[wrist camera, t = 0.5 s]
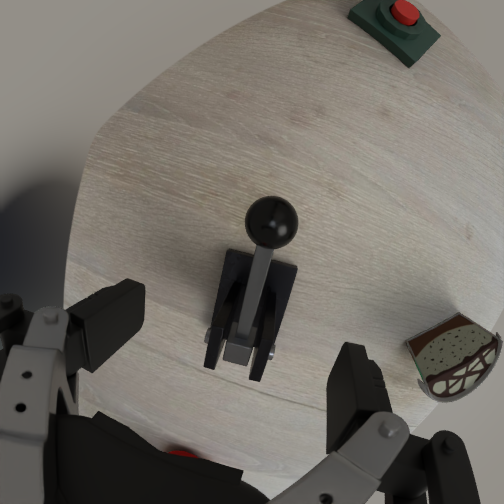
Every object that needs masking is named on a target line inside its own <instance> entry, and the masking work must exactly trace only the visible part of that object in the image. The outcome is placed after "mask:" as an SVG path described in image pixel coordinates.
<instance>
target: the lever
mask: <svg viewBox="0 0 504 504" xmlns="http://www.w3.org/2000/svg"><path fill="white" fill-rule="evenodd" d="M245 229H246V232H247V234H248V236H249V238H250V239H251V240H252V241H253V242H254V243H255V244H256V250H255V254H254V258H253V262H252V267H251V271H250V275H249V279H248V284H247V288H246V292H245V296H244V301H243V305H242V309H241V313H240V317H239V322H238V323H237V322H232V325H231V329H230V332H229V335H228V338H227V341H226V346H225V351H224V355H223V360H224V361H228V362H231V363H235V364H239V365H243V366H247V365H248V362H249V359H250V356H251V353H252V350H253V346H254V341H255V337H256V332H257V328H256V327H252V325H253V321H254V318H255V314H256V311H257V308H258V304H259V301H260V297H261V294H262V290H263V287H264V283H265V280H266V276H267V273H268V269H269V266H270V262H271V259H272V255H273V251H274V249H278V248H281V247H284V246H286V245H287V244H288V243H290V242H291V241H292V239H293V238H294V237H295V235H296V233H297V229H298V216H297V213H296V211H295V209H294V207H293V206H292V205H291V204H290V203H289V202H288V201H287V200H285V199H283V198H281V197H278V196H266V197H262V198H260V199H258V200H256V201H255V202H254V203H253V204H252V205H251V206H250V207H249V209H248V211H247V213H246V217H245Z"/></svg>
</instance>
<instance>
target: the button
mask: <svg viewBox="0 0 504 504" xmlns="http://www.w3.org/2000/svg"><path fill="white" fill-rule="evenodd" d="M391 14H392V16H393V17H394V18H395V19H396V20H397V21H398V22H400V23H402V24H404V25H413V24H414V23H415V22H416V20H417V19H418V18H419V11H418V10H417V8H416V7H415V6H414V5H412V4H411V3H409V2H407V1H405V0H397V1H396V2H395V4H394V5H393V7H392V8H391Z"/></svg>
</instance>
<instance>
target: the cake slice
mask: <svg viewBox="0 0 504 504" xmlns="http://www.w3.org/2000/svg"><path fill="white" fill-rule="evenodd" d="M502 343H503V341H502V340H501V337H500V335H499V334H498V333H497V332H496V336H495V335H494V334H492V333H491V332H489V331H488V330H486V329H485V328H483V327H481V326H480V325H478V324H477V323H475V322H474V321H472V320H471V319H469V318H468V317H466V316H464V315H463V314H461V313H460V312H459V313H457V314H456V315H454V316H452V317H450V318H449V319H447V320H445V321H443V322H441V323H439V324H438V325H436V326H434V327H432V328H430V329H428V330H426V331H424V332H422V333H420V334H418V335H416V336H414V337H412V338H410V339H408V340H406V344H407V347H408V349H409V351H410V353H411V355H412V358H413V360H414V362H415V364H416V366H417V368H418V371H419V373H420V375H421V377H422V380H423V382H424V383H423V382H422V381H421V380H420V379H417V380H418V384H419V386H420V388H421V390H422V391H423V392H424V393H425V394H426V395H427V396H429V397H430V398H431V399H433V400H435V401H438V402H442V403H447V402H452V401H456V400H458V399H461V398H462V397H464V396H466V395H468V394H469V393H471V392H472V391H473V390H475V389H476V388H477V387H478V386H479V385H480V384H481V383H482V382H483V381H484V380H485V379H486V378H487V376H488V375H489V374H490V372H491V371H492V369H493V368H494V366H495V364H496V362H497V360H498V358H499V355H500V352H501V348H502Z"/></svg>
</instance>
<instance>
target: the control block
mask: <svg viewBox="0 0 504 504" xmlns="http://www.w3.org/2000/svg"><path fill="white" fill-rule="evenodd" d="M396 1H397V0H363V1H361V2H360V3H359V4H357V5H356V6H355V7H353V8H352V9H350V12H349V15H348V17H347V18H348V19H349V20H351V21H352V22H354V23H355V24H356V25H358V26H359V27H360V28H362V29H363V30H364V31H366V32H367V33H368V34H370V35H371V36H372V37H374V38H375V39H376V40H377V41H379V42H380V43H381V44H382V45H383V46H385V47H386V48H387V49H388V50H389V51H390V52H392V53H393V54H394V55H395V56H396V57H397V58H398V59H400V60H401V61H402V62H403V63H404V64H405V65H406V66H407V67H408V68H410V67H411V66H412V65H413V64H414V63H416V62H417V60H418V59H419V58H420V57H421V56H422V55H423V54H424V53H425V52H426V51H427V50H428V49H429V48H430V47H431V46H432V45H433V44H434V43H435V42H436V41H437V39H438V38H439V37H440V36H441V35H440V34H439V33H438V32H437V31H436V30H434V29H433V28H432V27H431V26H430V25H429V24H428V23H427V22H426V21H425V19H424V17H423V16H422V14H421V13H420V11H419V10H418V9H417V10H418V11H419V18H418V19H417V20H416V22H415V23H414V24H413V25H404V24H402V23H400V22H398V21H397V20H396V19H395V18H394V17H393V16H392V14H391V8H392V7H393V5H394V4H395V2H396Z"/></svg>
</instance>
